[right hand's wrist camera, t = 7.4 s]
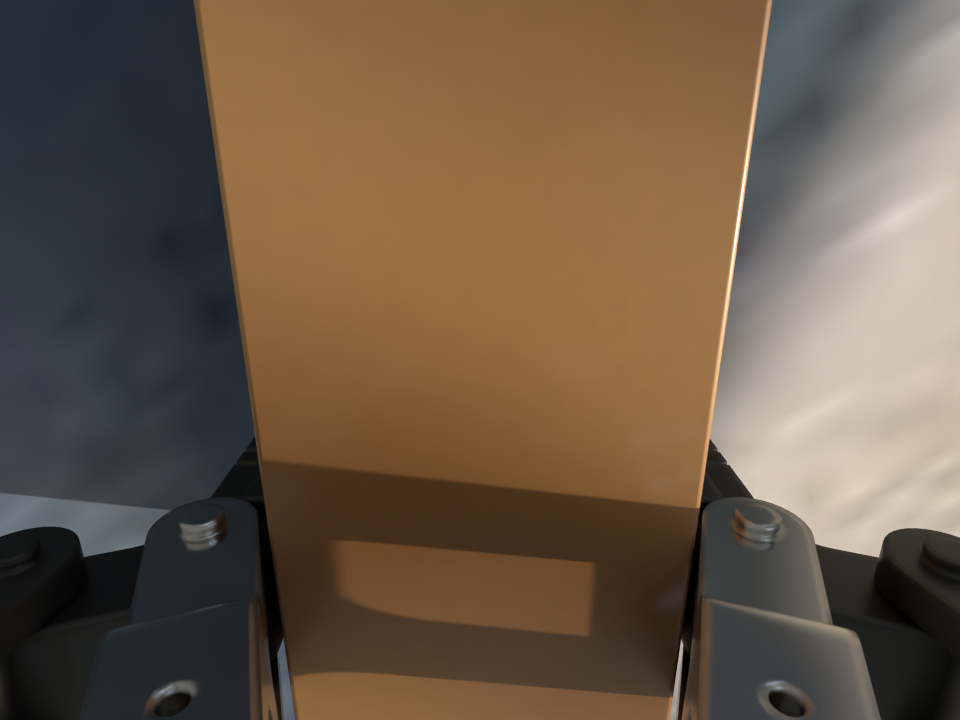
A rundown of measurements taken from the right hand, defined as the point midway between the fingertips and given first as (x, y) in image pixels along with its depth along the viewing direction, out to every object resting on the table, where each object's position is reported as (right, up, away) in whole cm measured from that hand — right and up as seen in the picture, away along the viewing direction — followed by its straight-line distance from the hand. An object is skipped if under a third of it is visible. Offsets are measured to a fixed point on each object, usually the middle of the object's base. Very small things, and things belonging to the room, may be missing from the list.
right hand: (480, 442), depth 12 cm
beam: (0, +30, -8) cm, 31 cm away
